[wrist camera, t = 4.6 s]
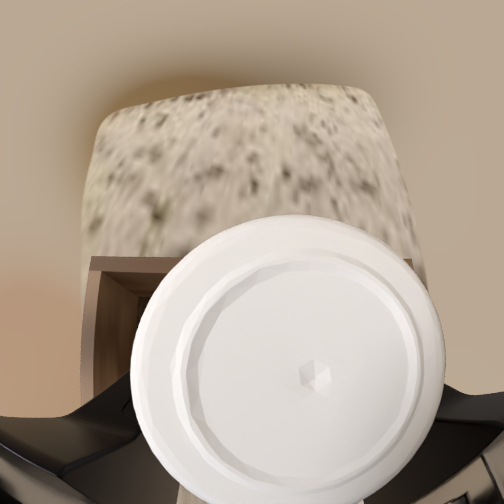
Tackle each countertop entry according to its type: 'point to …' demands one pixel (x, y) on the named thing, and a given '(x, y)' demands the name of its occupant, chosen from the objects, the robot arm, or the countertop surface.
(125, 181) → the countertop surface
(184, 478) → the sprinkles bottle
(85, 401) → the walnut crate
